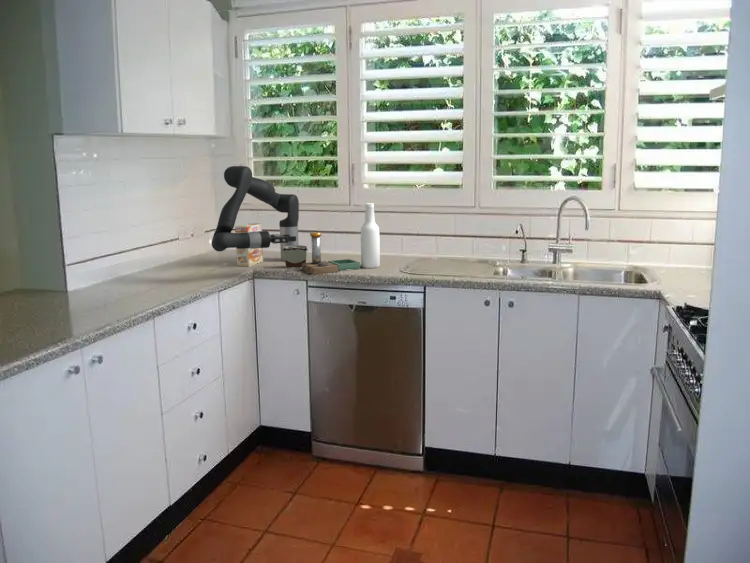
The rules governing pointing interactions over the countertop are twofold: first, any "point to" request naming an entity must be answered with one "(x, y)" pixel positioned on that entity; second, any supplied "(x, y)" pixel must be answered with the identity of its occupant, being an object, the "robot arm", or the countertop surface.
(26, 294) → the countertop surface
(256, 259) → the coffeecake box
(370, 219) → the alcohol
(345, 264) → the tray
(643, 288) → the countertop surface
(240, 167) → the robot arm
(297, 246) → the food container
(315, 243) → the pin
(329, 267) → the block
